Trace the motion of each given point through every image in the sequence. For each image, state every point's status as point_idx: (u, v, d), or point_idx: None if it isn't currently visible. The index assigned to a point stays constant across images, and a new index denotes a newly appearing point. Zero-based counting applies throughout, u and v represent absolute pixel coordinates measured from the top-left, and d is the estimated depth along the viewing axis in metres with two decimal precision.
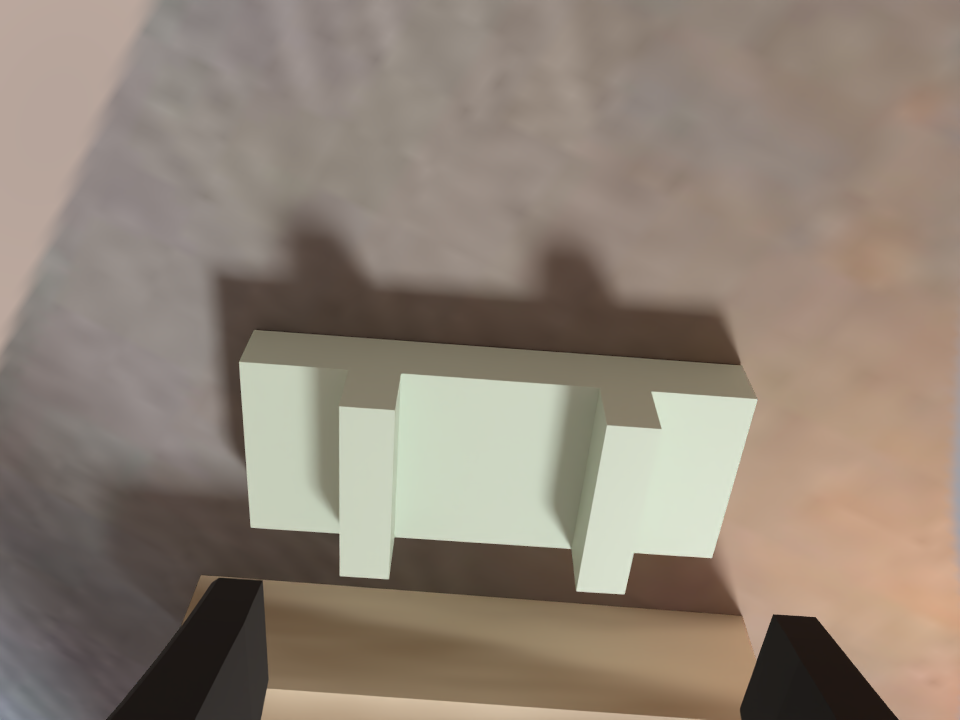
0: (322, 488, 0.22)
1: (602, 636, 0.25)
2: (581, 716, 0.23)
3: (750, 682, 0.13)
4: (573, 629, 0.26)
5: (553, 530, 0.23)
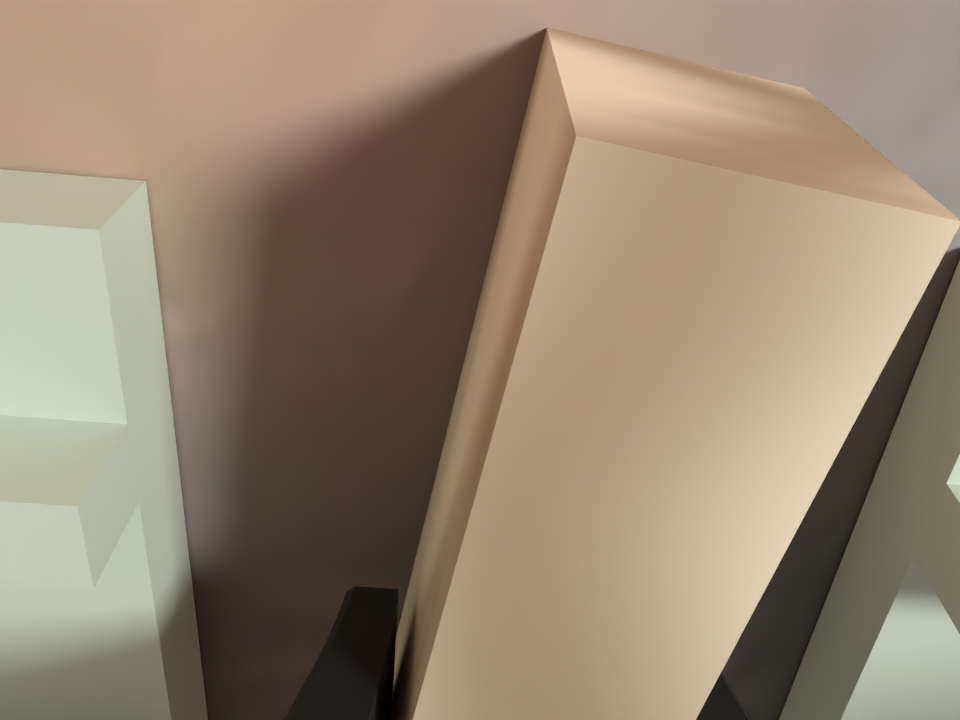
0: None
1: (462, 417, 0.11)
2: (460, 628, 0.09)
3: None
4: (449, 461, 0.11)
5: None
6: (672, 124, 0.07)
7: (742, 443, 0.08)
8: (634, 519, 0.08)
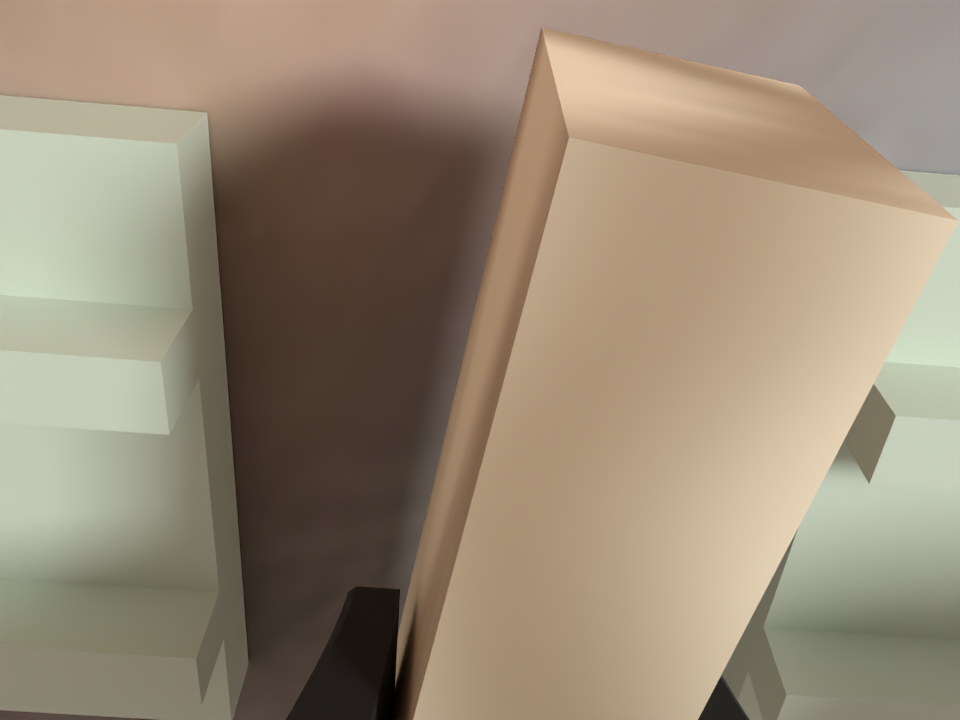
0: None
1: (460, 419, 0.11)
2: (458, 632, 0.09)
3: None
4: (447, 464, 0.11)
5: None
6: (666, 124, 0.07)
7: (739, 445, 0.08)
8: (632, 523, 0.08)
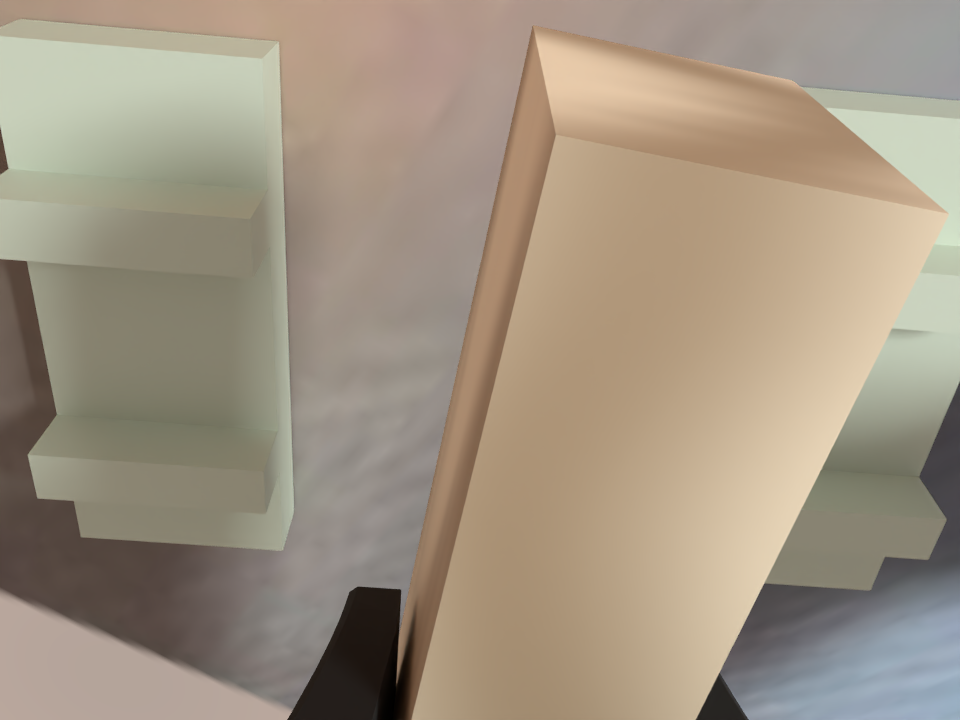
0: None
1: (455, 419, 0.11)
2: (455, 632, 0.09)
3: None
4: (445, 463, 0.11)
5: None
6: (656, 121, 0.07)
7: (734, 441, 0.08)
8: (628, 520, 0.08)
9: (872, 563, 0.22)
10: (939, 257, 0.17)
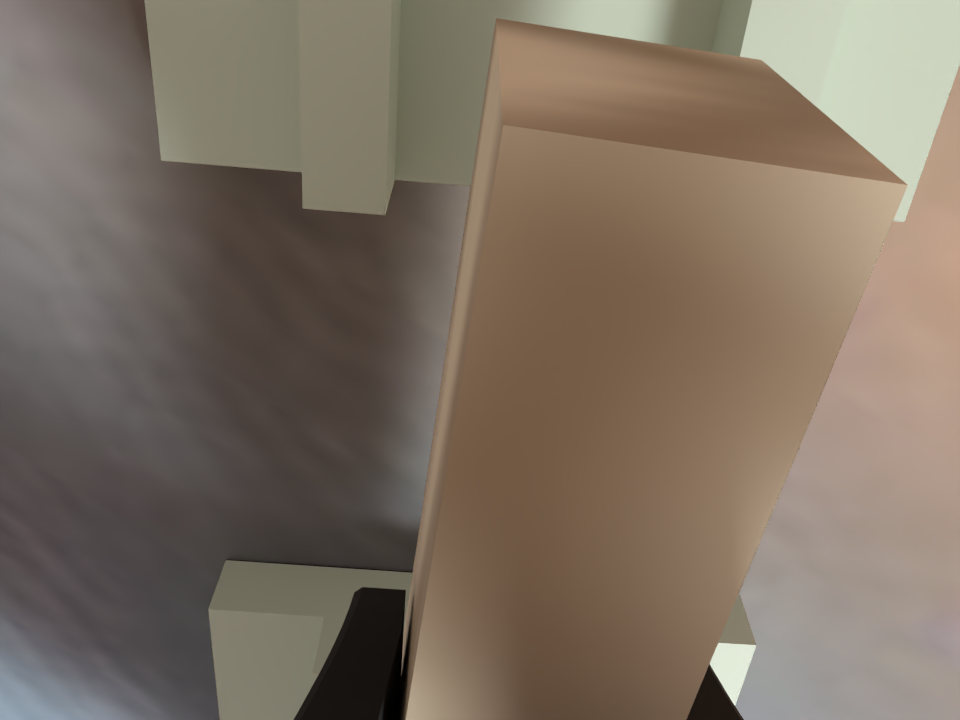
0: (275, 77, 0.13)
1: (440, 417, 0.11)
2: (442, 628, 0.09)
3: None
4: (433, 461, 0.11)
5: None
6: (610, 106, 0.07)
7: (707, 425, 0.08)
8: (606, 510, 0.08)
9: None
10: None
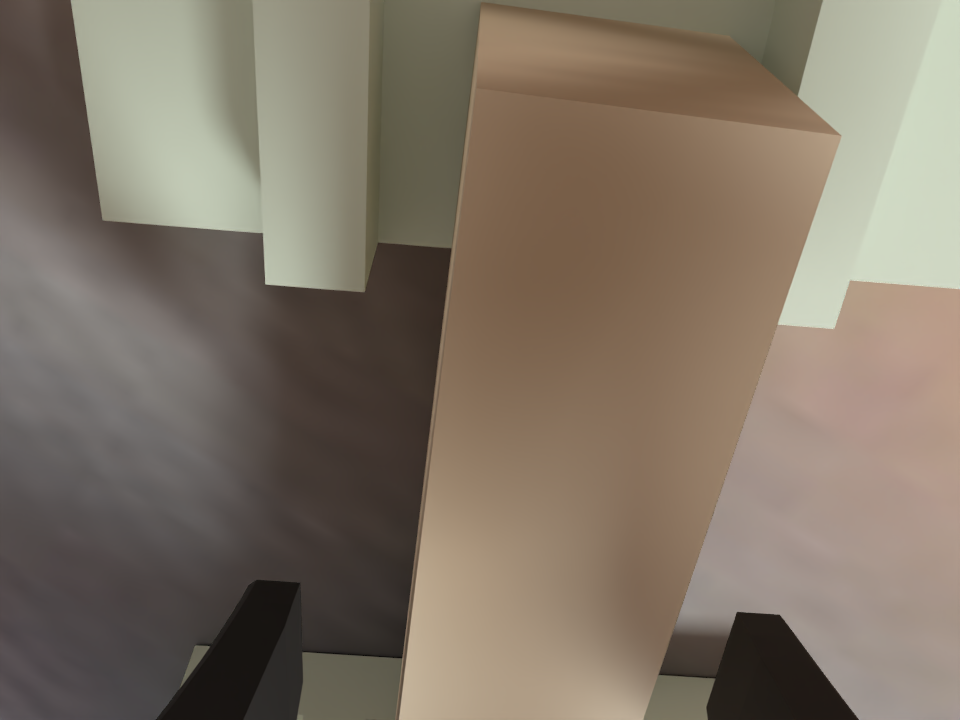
0: (235, 125, 0.11)
1: (437, 375, 0.12)
2: (438, 562, 0.10)
3: (716, 680, 0.13)
4: None
5: None
6: (577, 74, 0.08)
7: (672, 363, 0.08)
8: (584, 445, 0.09)
9: None
10: None
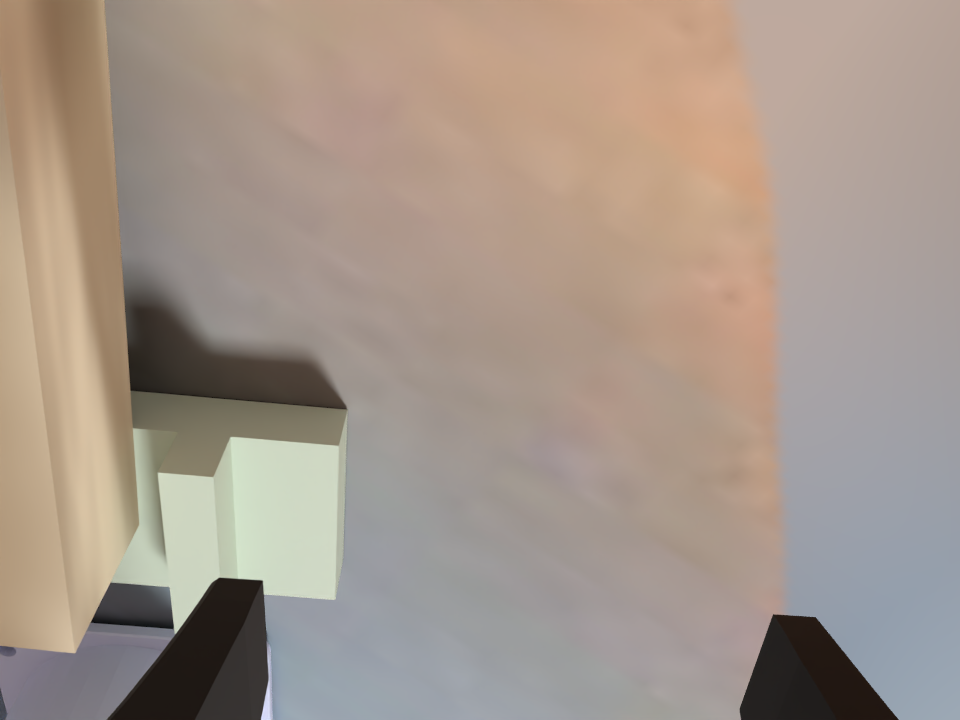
0: None
1: None
2: None
3: (750, 682, 0.13)
4: None
5: None
6: None
7: None
8: None
9: None
10: (229, 557, 0.22)
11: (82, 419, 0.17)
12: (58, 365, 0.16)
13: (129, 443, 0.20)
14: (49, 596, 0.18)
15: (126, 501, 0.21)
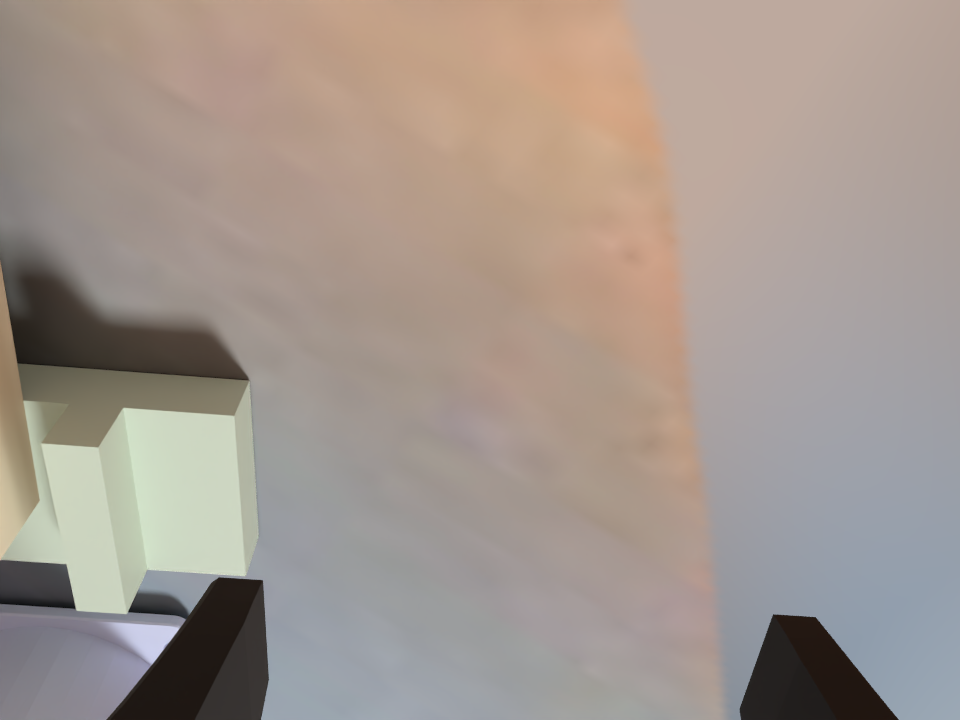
0: None
1: None
2: None
3: (750, 682, 0.13)
4: None
5: None
6: None
7: None
8: None
9: None
10: (129, 532, 0.21)
11: None
12: None
13: (19, 416, 0.20)
14: None
15: (19, 475, 0.20)
